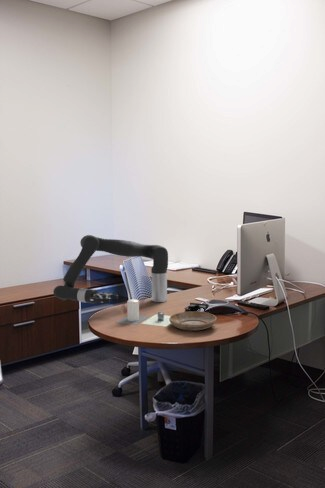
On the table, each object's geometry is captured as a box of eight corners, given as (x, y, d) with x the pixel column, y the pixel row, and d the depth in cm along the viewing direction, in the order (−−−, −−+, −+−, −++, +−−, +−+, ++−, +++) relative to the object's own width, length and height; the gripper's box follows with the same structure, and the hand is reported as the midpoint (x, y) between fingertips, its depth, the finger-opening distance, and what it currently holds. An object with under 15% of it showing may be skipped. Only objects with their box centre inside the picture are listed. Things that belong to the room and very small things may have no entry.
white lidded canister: (130, 317, 273) (130, 298, 272) (141, 318, 271) (140, 300, 269) (125, 320, 268) (125, 301, 266) (135, 321, 265) (135, 302, 264)
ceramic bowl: (187, 317, 273) (187, 308, 272) (225, 325, 258) (225, 316, 257) (160, 328, 255) (159, 318, 255) (198, 337, 240) (198, 327, 240)
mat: (130, 314, 279) (130, 314, 279) (150, 317, 274) (150, 316, 274) (115, 323, 264) (115, 322, 264) (136, 325, 260) (136, 324, 259)
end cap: (209, 315, 277) (209, 302, 276) (205, 318, 270) (205, 306, 269) (191, 313, 281) (191, 301, 280) (187, 316, 274) (187, 304, 273)
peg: (159, 319, 269) (159, 311, 269) (164, 319, 268) (164, 312, 267) (156, 320, 266) (156, 313, 266) (162, 321, 265) (162, 313, 264)
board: (155, 315, 278) (155, 314, 278) (179, 317, 272) (179, 317, 272) (141, 324, 262) (141, 323, 262) (166, 327, 256) (166, 326, 256)
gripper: (80, 291, 272) (106, 294, 265) (94, 286, 285) (120, 289, 278) (80, 305, 273) (106, 309, 266) (94, 299, 286) (120, 302, 279)
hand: (113, 298), depth 272 cm, fingers open, 8 cm apart
